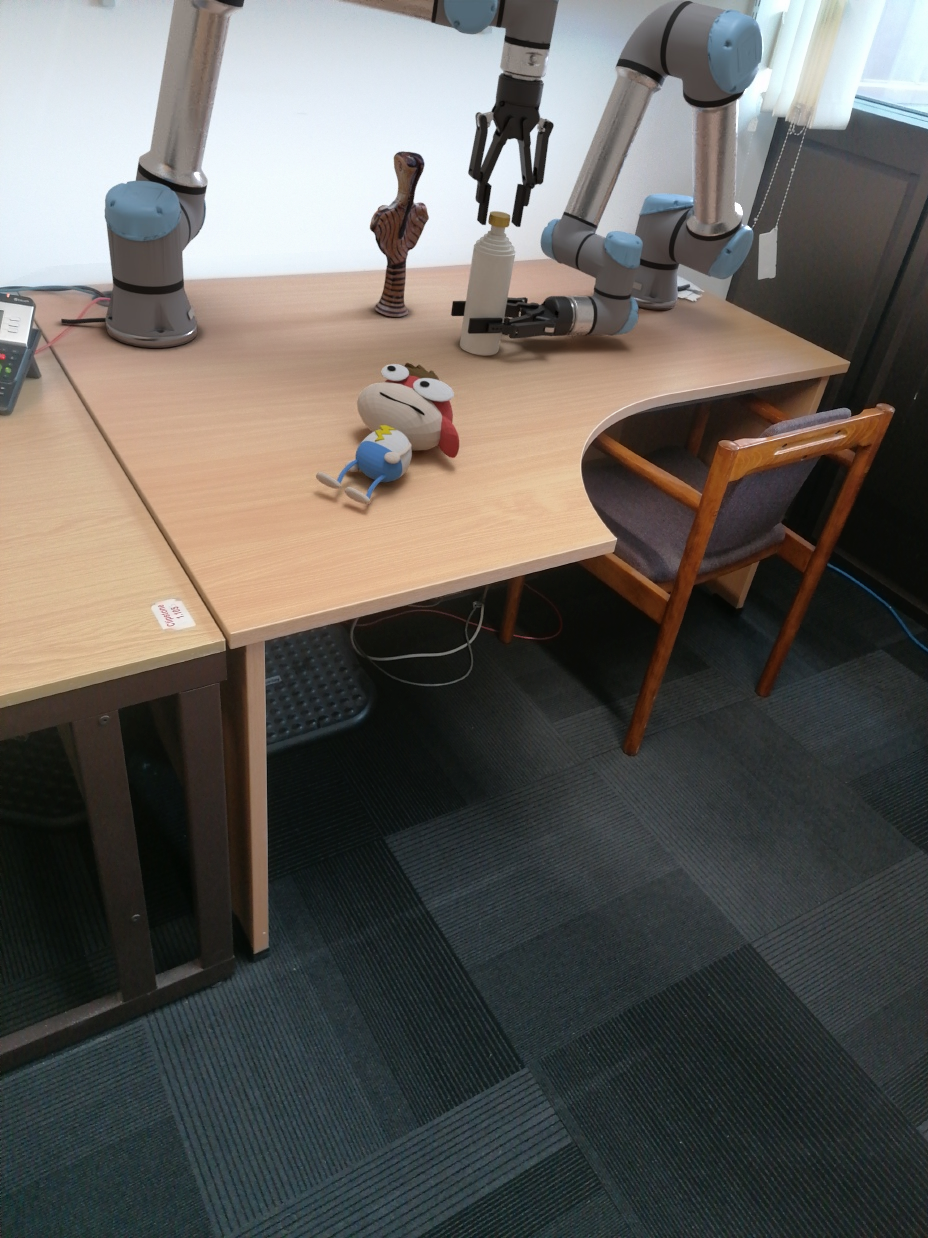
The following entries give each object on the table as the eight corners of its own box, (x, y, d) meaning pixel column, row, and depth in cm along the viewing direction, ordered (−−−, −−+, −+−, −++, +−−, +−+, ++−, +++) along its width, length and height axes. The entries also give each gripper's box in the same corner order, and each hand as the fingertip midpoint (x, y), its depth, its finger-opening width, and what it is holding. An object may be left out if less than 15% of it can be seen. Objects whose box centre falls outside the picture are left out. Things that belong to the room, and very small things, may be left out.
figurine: (401, 297, 189) (416, 141, 170) (429, 309, 186) (448, 152, 167) (355, 312, 178) (365, 148, 160) (384, 324, 175) (398, 159, 157)
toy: (278, 428, 121) (396, 343, 140) (277, 485, 128) (389, 398, 148) (391, 486, 117) (497, 391, 136) (384, 542, 124) (485, 444, 143)
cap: (486, 219, 161) (488, 209, 160) (507, 222, 161) (509, 212, 160) (489, 226, 158) (491, 215, 157) (510, 228, 159) (512, 218, 157)
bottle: (503, 355, 172) (527, 225, 157) (466, 355, 170) (486, 223, 155) (491, 339, 178) (512, 212, 163) (454, 338, 175) (472, 209, 160)
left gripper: (475, 73, 139) (455, 227, 154) (583, 85, 146) (554, 232, 160) (460, 64, 145) (442, 213, 159) (565, 76, 151) (538, 219, 165)
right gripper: (585, 355, 172) (479, 358, 164) (539, 314, 186) (438, 315, 178) (594, 317, 168) (485, 318, 159) (546, 278, 182) (443, 277, 173)
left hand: (498, 223), depth 160 cm, fingers open, 6 cm apart
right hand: (461, 316), depth 168 cm, fingers closed on bottle, 8 cm apart
